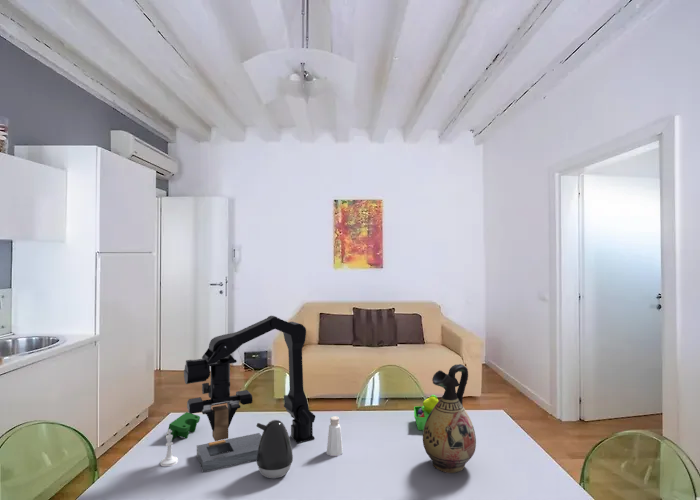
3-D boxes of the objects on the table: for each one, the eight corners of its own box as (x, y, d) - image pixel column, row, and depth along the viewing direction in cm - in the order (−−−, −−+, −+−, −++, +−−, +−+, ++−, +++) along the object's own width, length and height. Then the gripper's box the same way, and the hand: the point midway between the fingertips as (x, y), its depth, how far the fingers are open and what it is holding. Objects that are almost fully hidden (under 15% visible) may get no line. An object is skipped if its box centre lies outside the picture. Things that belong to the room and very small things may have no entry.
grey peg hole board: (259, 441, 141) (259, 432, 141) (270, 456, 131) (270, 446, 131) (196, 455, 132) (196, 444, 132) (202, 472, 121) (202, 460, 121)
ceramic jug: (446, 484, 114) (445, 374, 115) (412, 460, 128) (412, 362, 129) (492, 470, 122) (491, 366, 123) (455, 448, 136) (455, 355, 136)
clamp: (182, 452, 144) (182, 433, 140) (166, 447, 144) (166, 427, 141) (201, 426, 154) (201, 407, 151) (186, 421, 155) (186, 402, 152)
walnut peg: (225, 433, 132) (225, 404, 133) (228, 438, 129) (228, 408, 129) (212, 436, 131) (212, 407, 131) (214, 441, 127) (214, 411, 127)
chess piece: (181, 460, 129) (181, 427, 129) (169, 467, 124) (170, 433, 124) (168, 457, 130) (168, 425, 131) (156, 465, 126) (156, 431, 126)
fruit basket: (413, 419, 161) (413, 389, 161) (437, 420, 160) (437, 390, 160) (414, 431, 150) (414, 399, 150) (439, 432, 148) (439, 400, 149)
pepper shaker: (346, 450, 135) (345, 416, 135) (338, 457, 130) (338, 422, 130) (331, 447, 137) (331, 413, 137) (323, 454, 132) (323, 419, 132)
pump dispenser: (260, 464, 126) (260, 413, 126) (295, 465, 126) (295, 414, 126) (251, 483, 116) (251, 427, 116) (289, 483, 115) (289, 427, 116)
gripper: (244, 368, 141) (244, 415, 141) (184, 376, 133) (184, 425, 132) (252, 376, 132) (253, 426, 131) (189, 385, 123) (189, 439, 123)
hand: (220, 429), depth 130 cm, fingers closed on walnut peg, 4 cm apart
